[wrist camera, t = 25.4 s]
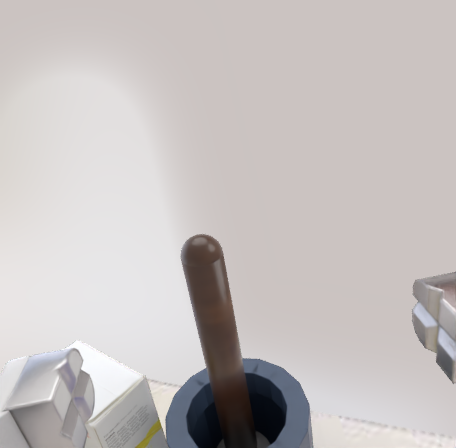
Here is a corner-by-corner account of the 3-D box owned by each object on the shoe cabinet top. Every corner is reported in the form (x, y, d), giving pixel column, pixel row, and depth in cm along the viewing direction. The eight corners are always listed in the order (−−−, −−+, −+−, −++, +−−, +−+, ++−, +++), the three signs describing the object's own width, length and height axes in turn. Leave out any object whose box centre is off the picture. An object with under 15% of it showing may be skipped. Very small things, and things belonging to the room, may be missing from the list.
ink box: (183, 480, 33) (149, 372, 28) (138, 539, 30) (90, 428, 25) (115, 433, 38) (76, 335, 33) (70, 479, 35) (19, 377, 30)
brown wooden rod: (281, 474, 31) (243, 217, 22) (276, 532, 28) (228, 256, 19) (231, 469, 32) (174, 221, 23) (220, 524, 29) (147, 258, 20)
